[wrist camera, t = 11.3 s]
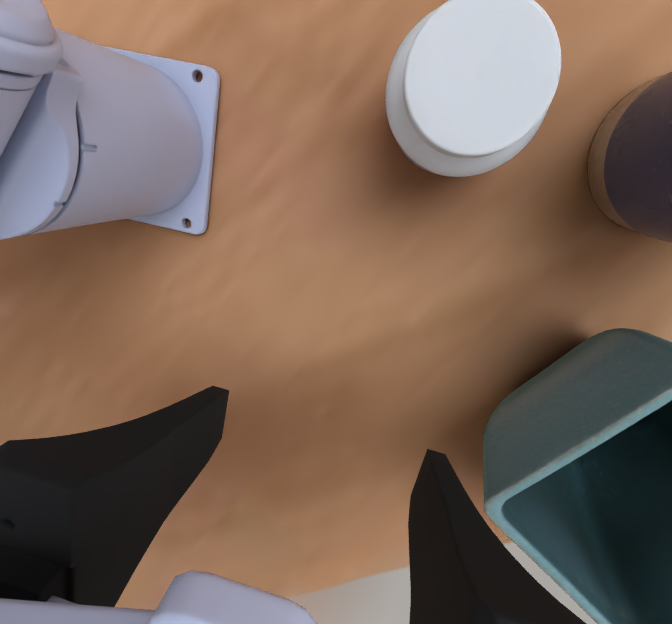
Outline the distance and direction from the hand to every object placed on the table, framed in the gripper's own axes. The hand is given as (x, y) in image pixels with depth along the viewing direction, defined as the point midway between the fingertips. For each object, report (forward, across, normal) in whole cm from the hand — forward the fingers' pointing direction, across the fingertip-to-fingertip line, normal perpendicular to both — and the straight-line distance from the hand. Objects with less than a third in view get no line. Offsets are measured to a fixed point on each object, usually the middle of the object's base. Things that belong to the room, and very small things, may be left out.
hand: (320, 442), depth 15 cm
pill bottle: (+10, -2, -12) cm, 15 cm away
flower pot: (+10, -12, 0) cm, 15 cm away
